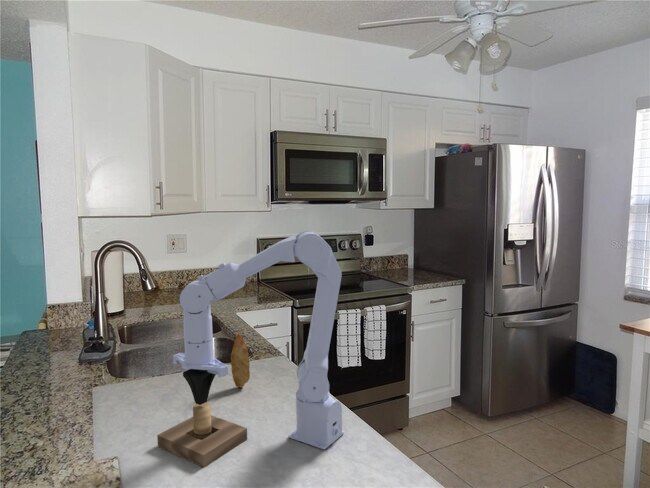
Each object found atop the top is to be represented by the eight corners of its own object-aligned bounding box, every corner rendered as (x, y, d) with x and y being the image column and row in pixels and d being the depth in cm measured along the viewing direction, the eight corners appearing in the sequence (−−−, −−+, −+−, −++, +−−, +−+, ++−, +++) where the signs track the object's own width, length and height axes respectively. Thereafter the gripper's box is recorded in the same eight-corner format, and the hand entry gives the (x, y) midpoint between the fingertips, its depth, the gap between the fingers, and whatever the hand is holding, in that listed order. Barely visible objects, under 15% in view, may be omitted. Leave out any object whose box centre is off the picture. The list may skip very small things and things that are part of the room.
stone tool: (250, 385, 125) (249, 332, 123) (250, 388, 123) (248, 334, 121) (232, 386, 125) (230, 333, 123) (231, 389, 122) (229, 335, 121)
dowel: (215, 441, 96) (214, 405, 95) (202, 449, 93) (201, 412, 92) (203, 436, 98) (202, 401, 97) (190, 444, 95) (188, 408, 94)
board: (247, 439, 97) (246, 428, 97) (204, 467, 87) (203, 455, 87) (202, 422, 104) (201, 411, 104) (157, 446, 94) (157, 434, 94)
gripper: (159, 339, 94) (163, 401, 95) (208, 351, 86) (211, 419, 87) (187, 330, 100) (189, 389, 101) (234, 341, 92) (237, 405, 93)
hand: (201, 402), depth 95 cm, fingers closed
